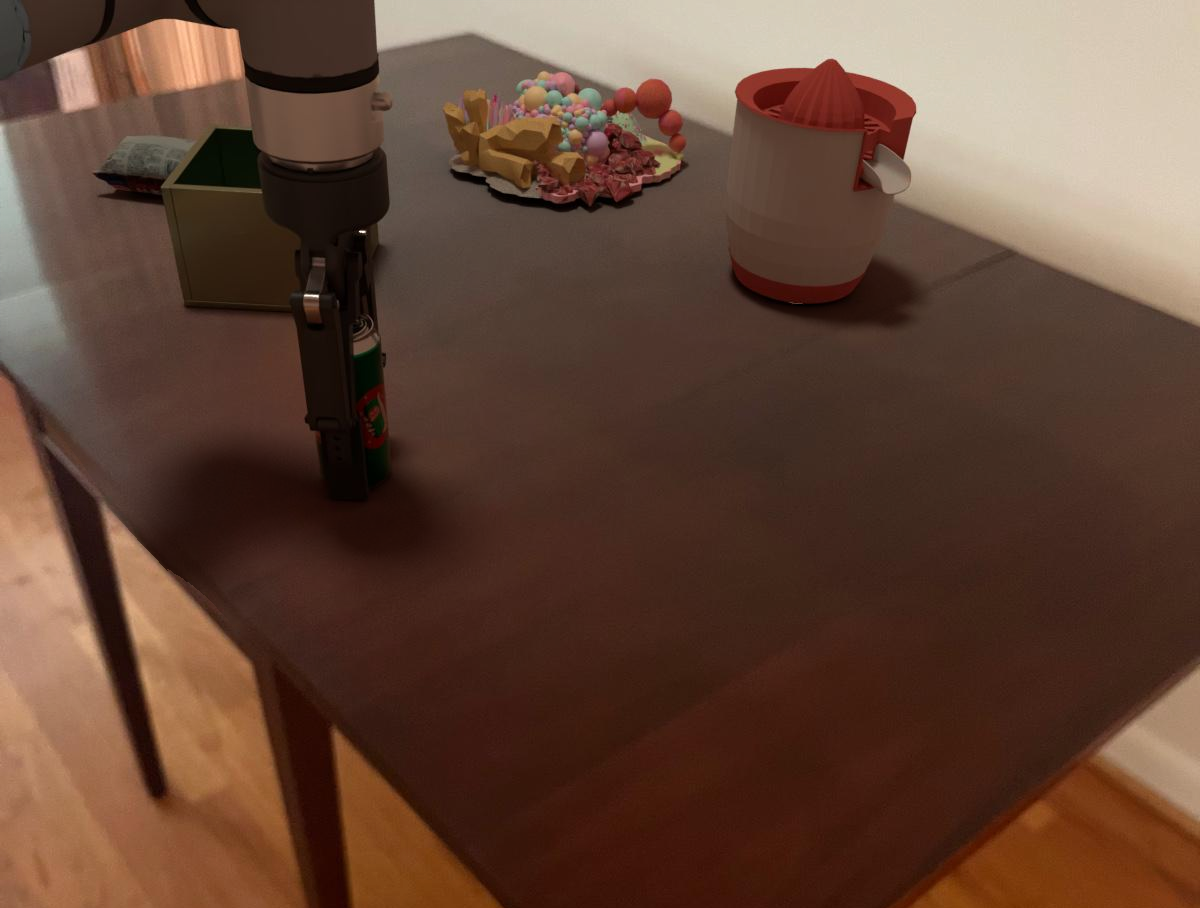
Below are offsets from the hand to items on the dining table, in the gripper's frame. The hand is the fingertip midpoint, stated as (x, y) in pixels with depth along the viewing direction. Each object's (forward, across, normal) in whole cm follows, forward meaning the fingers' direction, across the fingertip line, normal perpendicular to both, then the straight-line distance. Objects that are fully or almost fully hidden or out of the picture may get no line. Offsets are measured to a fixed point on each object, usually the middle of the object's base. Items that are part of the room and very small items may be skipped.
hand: (356, 471), depth 84 cm
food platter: (0, +61, -12) cm, 62 cm away
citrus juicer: (0, +35, -36) cm, 50 cm away
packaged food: (+1, +49, +28) cm, 56 cm away
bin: (0, +31, +12) cm, 33 cm away
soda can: (0, 0, 0) cm, 0 cm away
